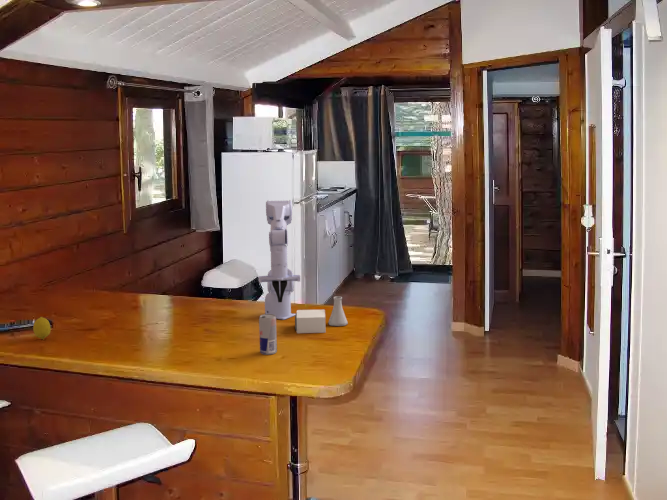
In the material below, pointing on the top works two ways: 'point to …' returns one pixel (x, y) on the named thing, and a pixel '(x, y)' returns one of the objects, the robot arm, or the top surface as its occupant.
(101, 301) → the top surface
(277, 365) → the top surface
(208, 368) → the top surface
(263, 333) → the energy drink
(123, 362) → the top surface
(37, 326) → the lemon
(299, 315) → the socket block
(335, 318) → the flask
